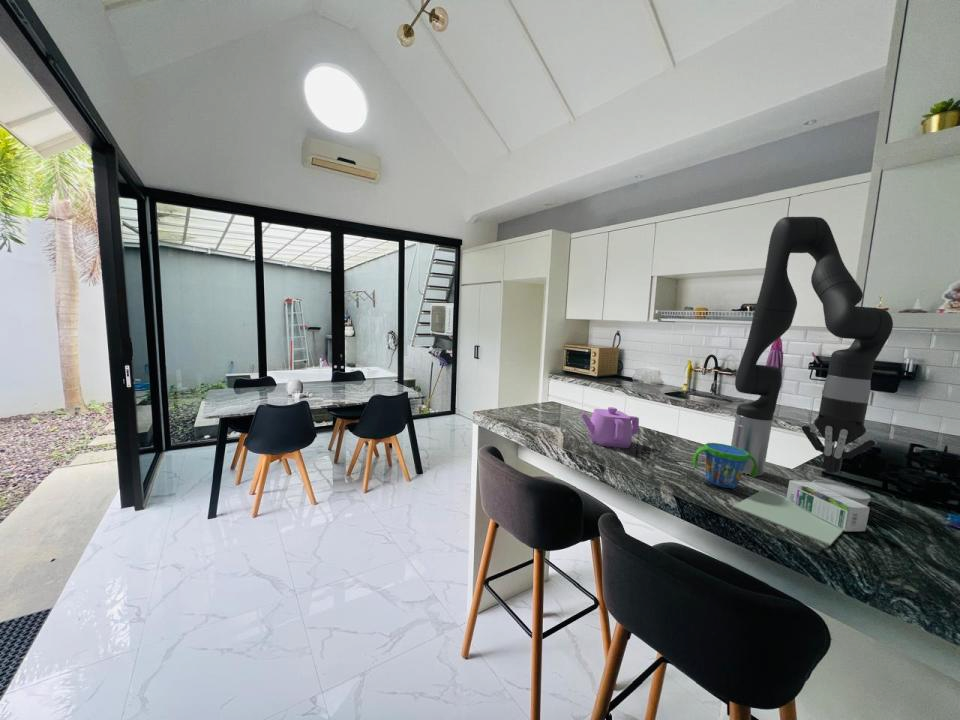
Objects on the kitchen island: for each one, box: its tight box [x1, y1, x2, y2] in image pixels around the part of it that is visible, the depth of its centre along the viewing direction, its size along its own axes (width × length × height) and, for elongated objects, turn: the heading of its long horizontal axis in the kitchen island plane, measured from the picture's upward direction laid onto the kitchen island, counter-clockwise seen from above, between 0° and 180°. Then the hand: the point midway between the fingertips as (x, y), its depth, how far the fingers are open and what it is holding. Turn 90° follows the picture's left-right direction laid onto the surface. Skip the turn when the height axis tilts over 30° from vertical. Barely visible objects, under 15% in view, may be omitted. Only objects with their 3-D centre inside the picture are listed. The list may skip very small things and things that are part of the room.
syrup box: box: [786, 479, 870, 532], centre depth 93 cm, size 6×6×14 cm
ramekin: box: [811, 479, 872, 507], centre depth 99 cm, size 11×11×5 cm
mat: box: [732, 489, 845, 547], centre depth 93 cm, size 20×18×1 cm
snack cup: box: [692, 442, 757, 490], centre depth 108 cm, size 16×10×10 cm
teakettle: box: [580, 406, 640, 449], centre depth 140 cm, size 17×17×12 cm
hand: (830, 472), depth 88 cm, fingers closed
